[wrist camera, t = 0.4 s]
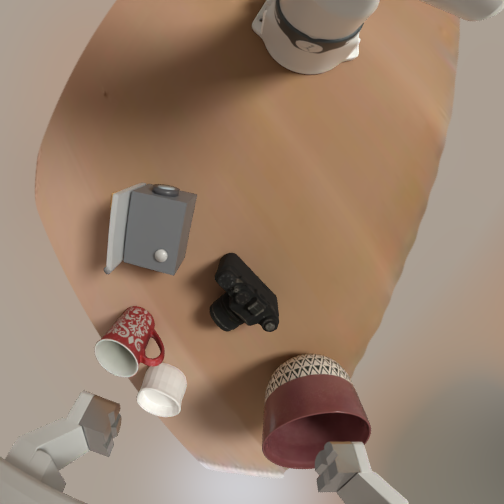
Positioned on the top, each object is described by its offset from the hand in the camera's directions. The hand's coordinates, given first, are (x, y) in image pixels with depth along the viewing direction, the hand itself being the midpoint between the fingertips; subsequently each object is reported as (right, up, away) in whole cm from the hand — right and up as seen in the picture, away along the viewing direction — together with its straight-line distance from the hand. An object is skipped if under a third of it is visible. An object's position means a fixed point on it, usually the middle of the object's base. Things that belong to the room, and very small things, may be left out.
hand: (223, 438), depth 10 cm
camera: (-2, 0, +48) cm, 48 cm away
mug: (-21, -8, +51) cm, 56 cm away
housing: (-15, +13, +43) cm, 47 cm away
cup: (-19, -22, +56) cm, 63 cm away
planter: (+13, -19, +54) cm, 59 cm away
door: (-20, +13, +42) cm, 49 cm away
